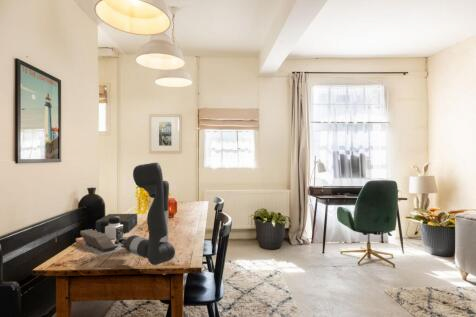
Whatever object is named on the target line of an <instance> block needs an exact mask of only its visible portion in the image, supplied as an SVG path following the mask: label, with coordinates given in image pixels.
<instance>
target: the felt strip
mask: <svg viewBox="0 0 476 317" xmlns="http://www.w3.org/2000/svg"><path fill="white" fill-rule="evenodd" d="M80 246H81V247H83V248H85V249H88V250H89V251H92V252H94V253H96V254H99V255H101V256H105V255H109V254H113V253H117V252H122V251H123V249H121V248H119V247H117V248H115V250H111V251H107V252H102V251H101V250H98V249H97V248H93V247H92V246H88V244H87V245H84V244H82V245H80Z"/></svg>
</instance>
